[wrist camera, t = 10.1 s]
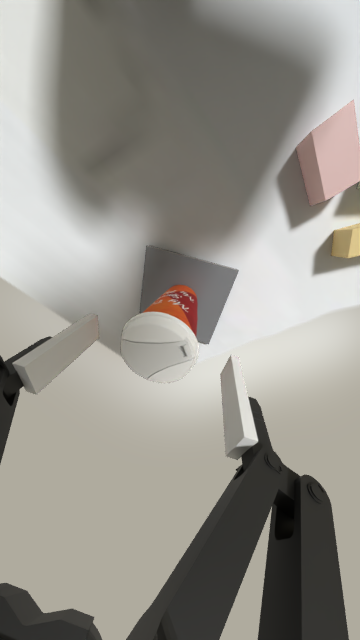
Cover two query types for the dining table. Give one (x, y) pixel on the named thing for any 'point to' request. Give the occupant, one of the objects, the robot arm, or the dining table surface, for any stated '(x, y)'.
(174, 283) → the slate mat
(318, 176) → the rose brick
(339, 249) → the ochre brick
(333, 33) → the dining table surface
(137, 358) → the paper cup
